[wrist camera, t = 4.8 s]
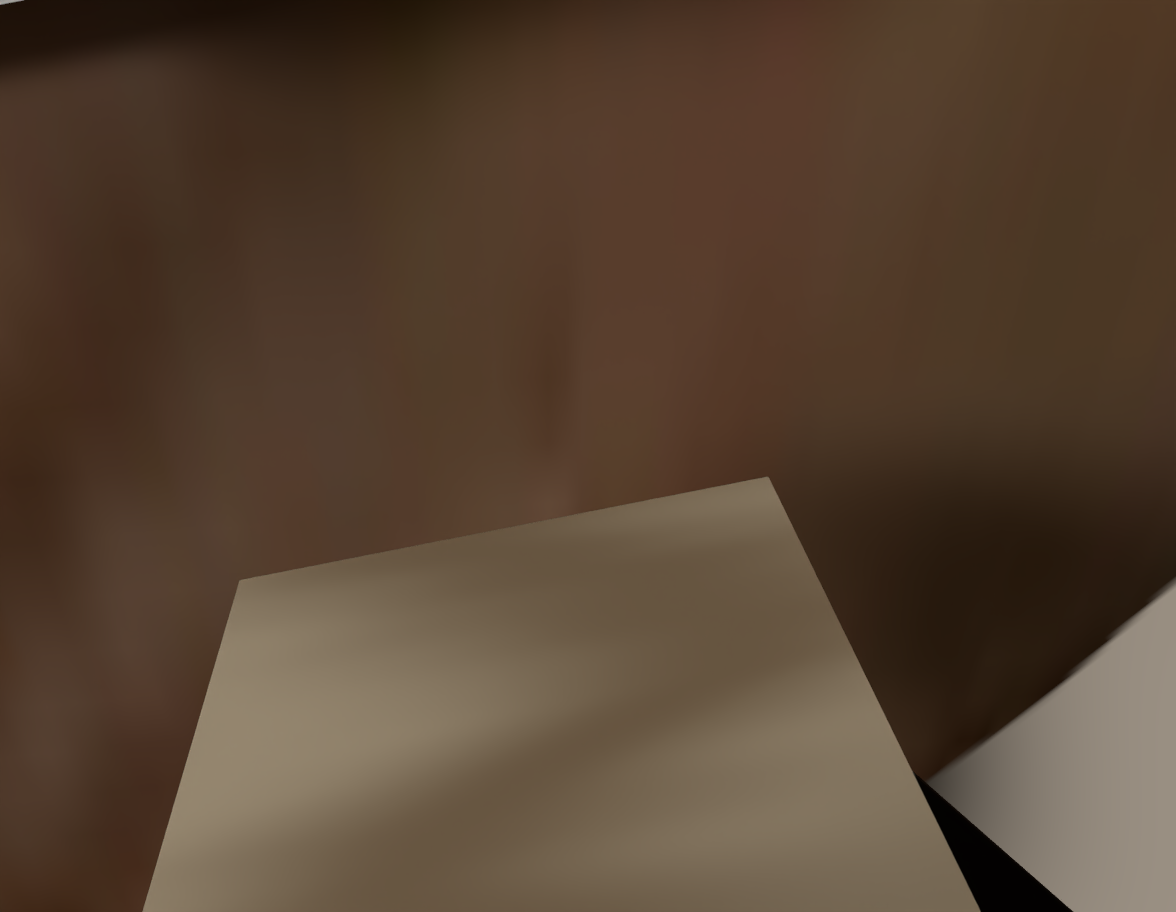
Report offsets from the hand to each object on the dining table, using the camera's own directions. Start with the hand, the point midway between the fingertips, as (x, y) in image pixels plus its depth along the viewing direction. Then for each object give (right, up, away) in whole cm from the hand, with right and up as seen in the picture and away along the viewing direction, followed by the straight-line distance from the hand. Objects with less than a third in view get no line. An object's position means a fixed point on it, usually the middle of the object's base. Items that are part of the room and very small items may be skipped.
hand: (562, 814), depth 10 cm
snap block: (0, +1, +1) cm, 1 cm away
